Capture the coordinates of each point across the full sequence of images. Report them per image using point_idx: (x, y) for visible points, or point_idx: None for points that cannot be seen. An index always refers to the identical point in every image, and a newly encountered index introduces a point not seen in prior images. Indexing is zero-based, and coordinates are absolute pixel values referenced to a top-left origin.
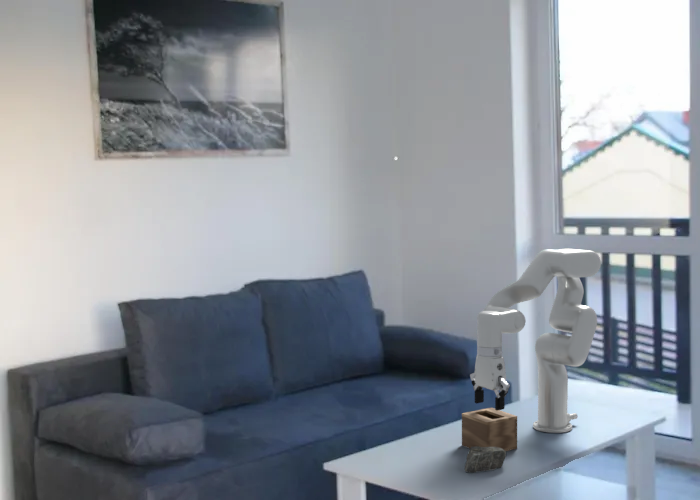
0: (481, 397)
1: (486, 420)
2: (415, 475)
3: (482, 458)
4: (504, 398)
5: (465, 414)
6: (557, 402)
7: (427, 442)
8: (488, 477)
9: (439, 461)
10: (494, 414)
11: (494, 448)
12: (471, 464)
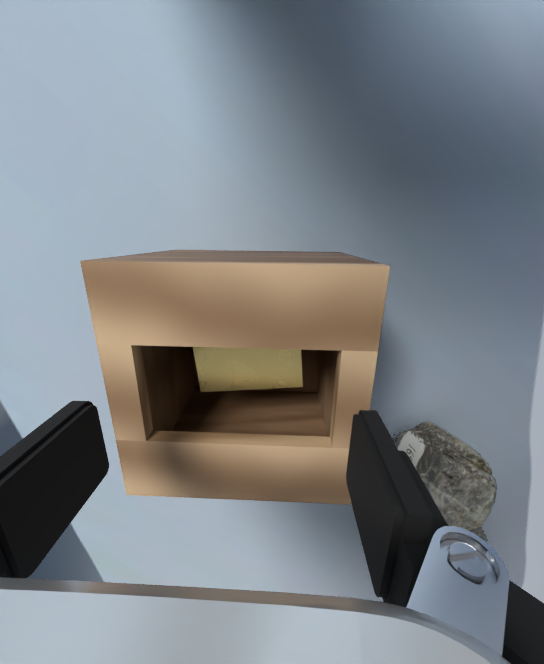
0: (69, 456)
1: (326, 486)
2: None
3: None
4: (416, 486)
5: (158, 495)
6: None
7: (107, 454)
8: None
9: (280, 524)
10: (226, 344)
11: (459, 501)
12: None
